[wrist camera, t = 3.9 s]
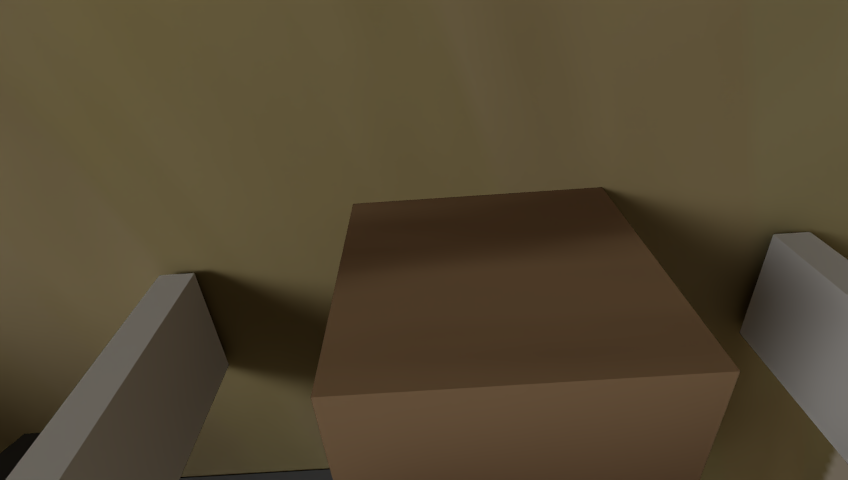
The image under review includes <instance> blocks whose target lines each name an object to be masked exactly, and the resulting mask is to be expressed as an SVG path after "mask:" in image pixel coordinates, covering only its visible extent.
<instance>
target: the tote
mask: <svg viewBox="0 0 848 480" xmlns="http://www.w3.org/2000/svg"><path fill="white" fill-rule="evenodd" d="M179 480H333V478H332V475H331V471H330V469H327V470H310V471H293V472H277V473H260V474H243V475H226V476H209V477H192V478H180V479H179Z"/></svg>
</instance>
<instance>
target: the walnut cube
mask: <svg viewBox="0 0 848 480" xmlns="http://www.w3.org/2000/svg"><path fill="white" fill-rule="evenodd" d="M739 374H740V370H739V369H738V367H737V366H736V365H735V363H734V362H733V361H732V359H731V358H730V357H729V355H728V354H727V353H726V351H725V350H724V349H723V347H722V346H721V345H720V343H719V342H718V341H717V339H716V338H715V337H714V336H713V334H712V333H711V332H710V330H709V329H708V328H707V326H706V325H705V324H704V322H703V321H702V320H701V318H700V317H699V316H698V314H697V313H696V312H695V310H694V309H693V308H692V306H691V305H690V304H689V302H688V301H687V300H686V298H685V297H684V296H683V294H682V293H681V292H680V290H679V289H678V288H677V286H676V285H675V284H674V282H673V281H672V280H671V278H670V277H669V276H668V274H667V273H666V272H665V270H664V269H663V268H662V266H661V265H660V264H659V262H658V261H657V260H656V258H655V257H654V256H653V254H652V253H651V252H650V250H649V249H648V248H647V246H646V245H645V244H644V242H643V241H642V240H641V238H640V237H639V236H638V234H637V233H636V232H635V230H634V229H633V228H632V226H631V225H630V224H629V222H628V221H627V220H626V218H625V217H624V216H623V214H622V213H621V212H620V211H619V209H618V208H617V207H616V205H615V204H614V203H613V201H612V200H611V199H610V197H609V196H608V195H607V193H606V192H605V191H604V189H603V188H602V187H599V188H584V189H569V190H554V191H539V192H524V193H509V194H494V195H479V196H465V197H450V198H435V199H420V200H405V201H390V202H375V203H360V204H353V207H352V212H351V216H350V221H349V225H348V230H347V234H346V239H345V243H344V248H343V253H342V257H341V262H340V266H339V271H338V275H337V280H336V285H335V289H334V294H333V298H332V303H331V307H330V312H329V317H328V321H327V326H326V330H325V335H324V339H323V344H322V349H321V353H320V358H319V362H318V367H317V371H316V376H315V380H314V385H313V390H312V394H311V400H312V404H313V408H314V411H315V415H316V419H317V423H318V426H319V430H320V434H321V437H322V441H323V445H324V449H325V452H326V456H327V460H328V464H329V467H330V471H331V475H332V478H333V480H700V478H701V475H702V472H703V470H704V467H705V464H706V462H707V459H708V456H709V454H710V451H711V448H712V446H713V443H714V440H715V438H716V435H717V432H718V430H719V427H720V424H721V422H722V419H723V416H724V414H725V411H726V408H727V406H728V403H729V400H730V398H731V395H732V392H733V390H734V387H735V384H736V382H737V379H738V376H739Z"/></svg>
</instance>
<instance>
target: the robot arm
mask: <svg viewBox="0 0 848 480" xmlns="http://www.w3.org/2000/svg"><path fill="white" fill-rule="evenodd" d="M740 334H741V335H742V337H743V338H744V339H745V340H746V341H747V343H748V344H749V345H750V346H751V348H752V349H753V350H754V351H755V352H756V354H757V355H758V356H759V357H760V358H761V360H762V361H763V362H764V363H765V364H766V366H767V367H768V368H769V369H770V371H771V372H772V373H773V374H774V375H775V377H776V378H777V379H778V380H779V381H780V383H781V384H782V385H783V386H784V387H785V389H786V390H787V391H788V392H789V394H790V395H791V396H792V397H793V398H794V400H795V401H796V402H797V403H798V404H799V406H800V407H801V408H802V409H803V410H804V412H805V413H806V414H807V415H808V417H809V418H810V419H811V420H812V421H813V423H814V424H815V425H816V426H817V427H818V429H819V430H820V431H821V432H822V434H823V435H824V436H825V437H826V438H827V440H828V441H829V442H830V443H831V444H832V446H833V447H834V448H835V449H836V450H837V452H838V453H839V454H840V455H841V457H842V458H843V459H844V460H845V461H846V463H847V464H848V260H847V259H846V258H845V257H843V256H842V255H841V254H839V253H838V252H836V251H835V250H834V249H832V248H831V247H830V246H828V245H827V244H826V243H824V242H823V241H822V240H820V239H819V238H818V237H816V236H815V235H814V234H812V233H811V232H800V233H785V234H773V237H772V240H771V242H770V245H769V248H768V251H767V254H766V257H765V260H764V263H763V266H762V269H761V272H760V274H759V277H758V280H757V283H756V286H755V289H754V292H753V295H752V298H751V301H750V304H749V306H748V309H747V312H746V315H745V318H744V321H743V324H742V327H741V330H740ZM228 366H229V364H228V361H227V359H226V356H225V353H224V351H223V348H222V345H221V343H220V340H219V337H218V335H217V332H216V329H215V327H214V324H213V321H212V319H211V316H210V313H209V311H208V308H207V305H206V303H205V300H204V297H203V295H202V292H201V289H200V287H199V284H198V281H197V279H196V276H195V273H188V274H173V275H159V277H158V278H157V279H156V281H155V282H154V283H153V285H152V286H151V287H150V289H149V290H148V291H147V293H146V294H145V295H144V297H143V298H142V299H141V301H140V302H139V303H138V305H137V306H136V307H135V308H134V310H133V311H132V312H131V314H130V315H129V316H128V318H127V319H126V320H125V322H124V323H123V324H122V326H121V327H120V328H119V330H118V331H117V332H116V334H115V335H114V336H113V338H112V339H111V340H110V342H109V343H108V344H107V346H106V347H105V348H104V350H103V351H102V352H101V354H100V355H99V356H98V358H97V359H96V360H95V362H94V363H93V364H92V366H91V367H90V368H89V370H88V371H87V372H86V373H85V375H84V376H83V377H82V379H81V380H80V381H79V383H78V384H77V385H76V387H75V388H74V389H73V391H72V392H71V393H70V395H69V396H68V397H67V399H66V400H65V401H64V403H63V404H62V405H61V407H60V408H59V409H58V411H57V412H56V413H55V415H54V416H53V417H52V419H51V420H50V421H49V423H48V424H47V425H46V427H45V428H44V429H43V431H42V432H41V433H30V434H23V435H22V436H21V437H20V438H19V439H17V440H16V441H15V442H14V443H13V444H11V445H10V446H9V447H8V448H6V449H5V450H4V451H3V452H2V453H0V480H179V479H180V477H181V475H182V472H183V470H184V468H185V465H186V463H187V461H188V458H189V456H190V454H191V451H192V449H193V447H194V445H195V442H196V440H197V438H198V435H199V433H200V431H201V428H202V426H203V424H204V421H205V419H206V417H207V414H208V412H209V410H210V408H211V405H212V403H213V401H214V398H215V396H216V394H217V391H218V389H219V387H220V384H221V382H222V380H223V377H224V375H225V373H226V371H227V368H228Z"/></svg>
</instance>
